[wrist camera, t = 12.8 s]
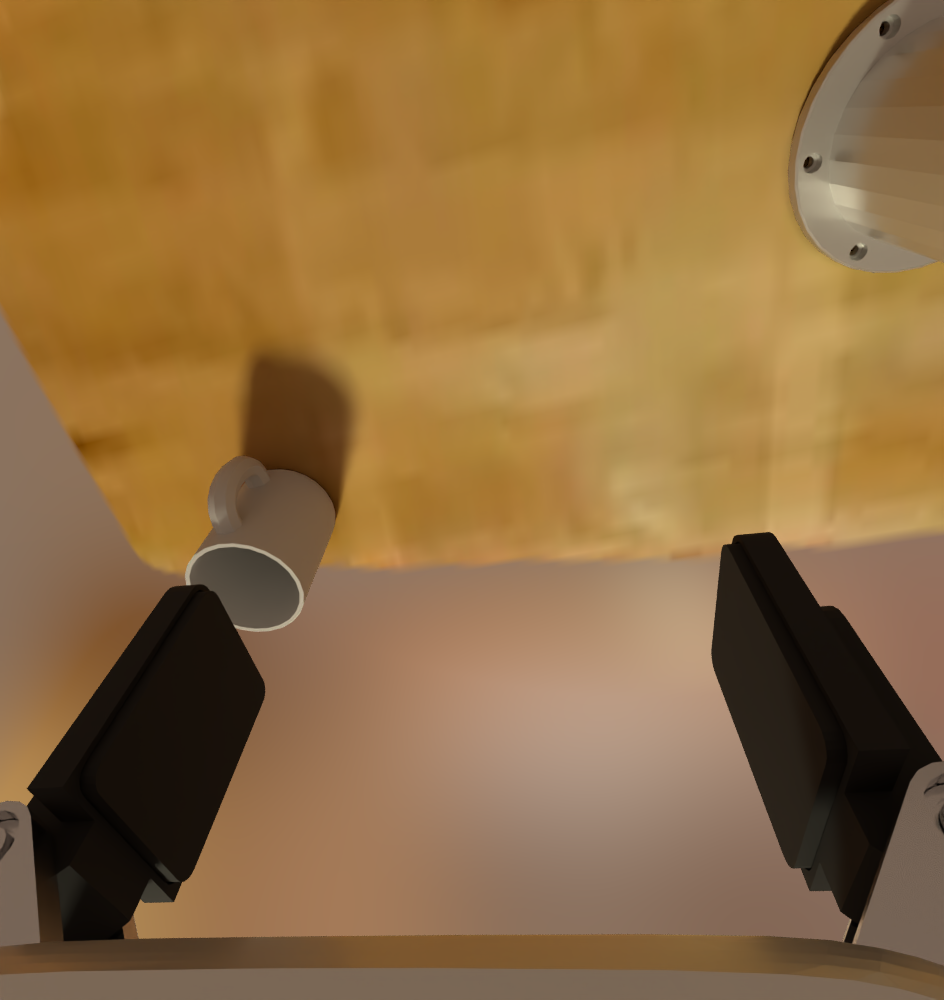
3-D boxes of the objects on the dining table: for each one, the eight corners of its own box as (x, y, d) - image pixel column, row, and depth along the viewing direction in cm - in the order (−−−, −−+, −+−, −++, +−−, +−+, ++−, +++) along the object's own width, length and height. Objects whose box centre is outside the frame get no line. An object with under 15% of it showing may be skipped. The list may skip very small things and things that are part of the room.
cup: (264, 553, 45) (219, 638, 38) (204, 442, 40) (137, 516, 33) (351, 538, 44) (321, 623, 37) (300, 421, 39) (254, 494, 32)
